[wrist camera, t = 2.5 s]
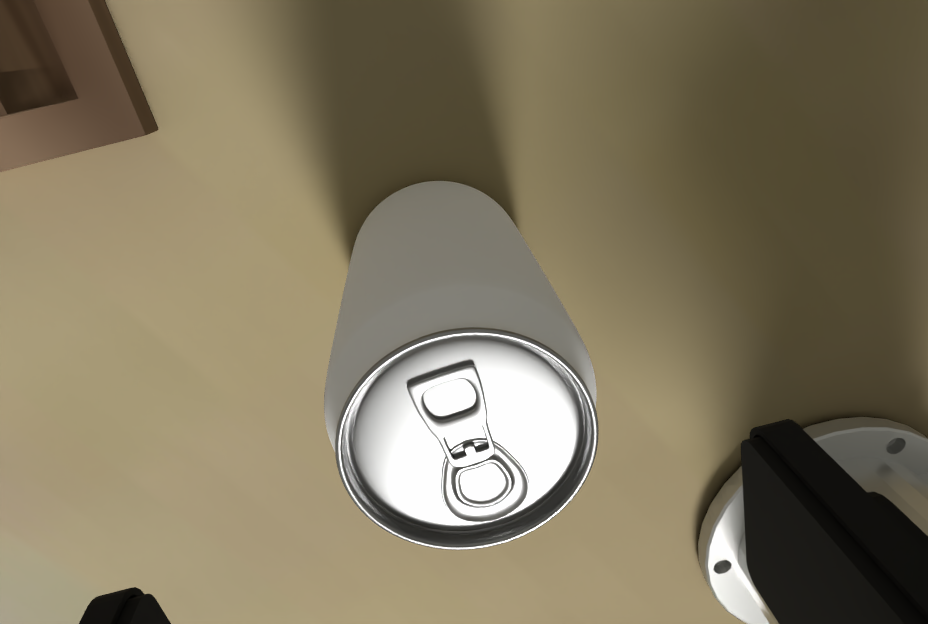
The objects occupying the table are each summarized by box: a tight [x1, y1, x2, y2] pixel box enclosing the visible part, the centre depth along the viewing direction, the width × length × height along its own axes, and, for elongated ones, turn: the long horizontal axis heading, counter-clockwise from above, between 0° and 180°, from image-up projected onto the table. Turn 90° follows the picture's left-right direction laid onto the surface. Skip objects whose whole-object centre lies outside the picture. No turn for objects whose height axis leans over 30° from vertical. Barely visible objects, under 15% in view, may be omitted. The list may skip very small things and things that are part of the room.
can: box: [324, 181, 598, 550], centre depth 19 cm, size 6×6×12 cm
